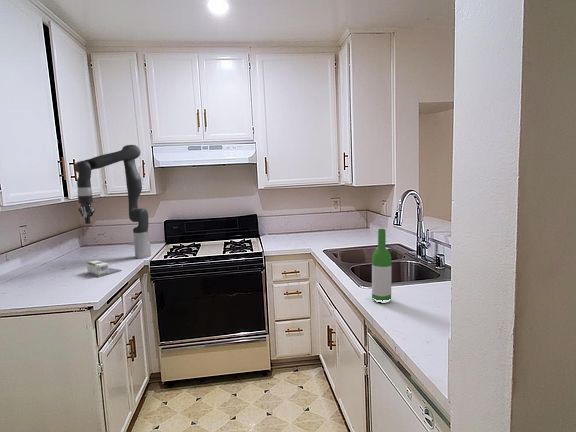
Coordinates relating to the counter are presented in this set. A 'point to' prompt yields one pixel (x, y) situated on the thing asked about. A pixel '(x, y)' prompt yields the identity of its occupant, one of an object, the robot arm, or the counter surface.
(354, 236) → the counter surface
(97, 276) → the mat
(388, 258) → the wine bottle
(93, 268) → the syrup box
